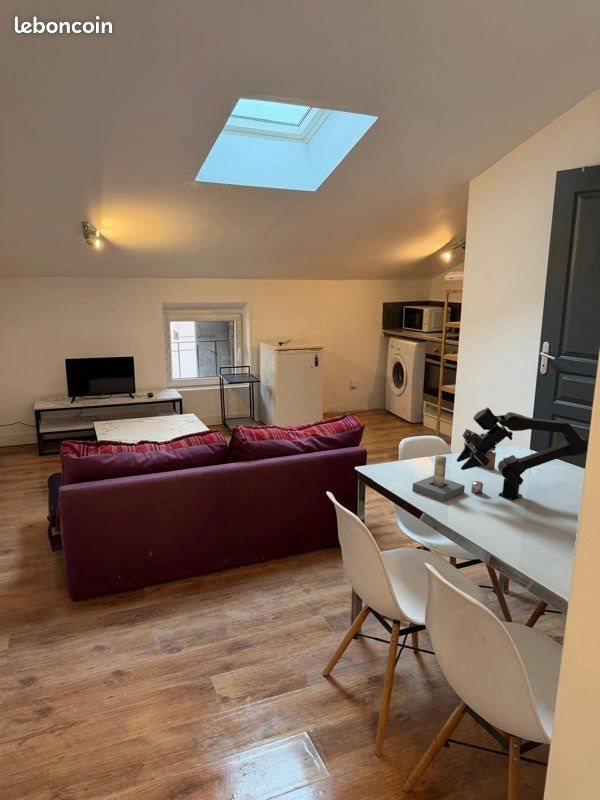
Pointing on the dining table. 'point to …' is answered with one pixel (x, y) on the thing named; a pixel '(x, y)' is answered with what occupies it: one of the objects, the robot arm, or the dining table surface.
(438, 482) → the birch pin
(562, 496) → the dining table surface
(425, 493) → the plate
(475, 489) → the steel stub
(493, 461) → the lighter
